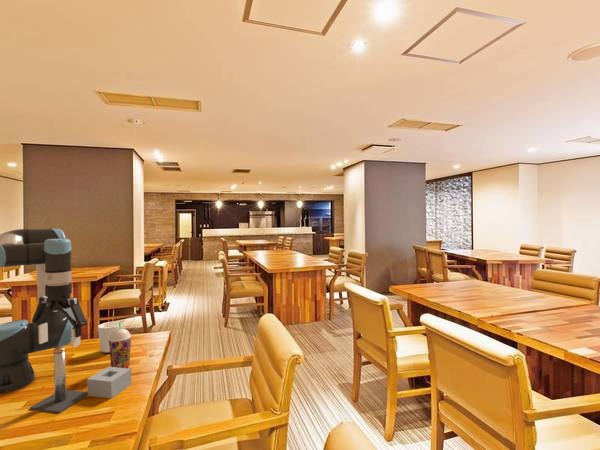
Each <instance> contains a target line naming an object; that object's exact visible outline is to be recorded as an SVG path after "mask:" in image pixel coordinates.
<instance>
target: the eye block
mask: <svg viewBox="0 0 600 450" xmlns="http://www.w3.org/2000/svg"><path fill="white" fill-rule="evenodd" d="M86 381H87V382H86V383H87V384H86V385H87V386H86V387H87V388H86V389H87V391H86V392H87V394H88V396H89V397H95V398H97V397H98V398H106V399H113V398H115V397H116V396H117V395H119V394H120V393H121V392H123V391H124V390H125V389H127V388H129V386H132V368H128V369H127V368H117V367H111V366H107V367H105V368H104V369H102V370H100V371H98V372H97V373H95V374H94V375H92V376H90V377H88V378H87V379H86Z"/></svg>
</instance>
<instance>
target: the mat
mask: <svg viewBox="0 0 600 450" xmlns="http://www.w3.org/2000/svg"><path fill="white" fill-rule="evenodd" d="M87 396H88V394H87V391H81V390H71V389H66V399H65V400H64V401H62V402H55V392H54V393H53V394H51V395H49V396H47V397H45V398H44V399H42V400H40V401H38V402H36V403H35V404H33V405H31V406H29V410H33V411H41V412H46V413H47V412H48V413H55V414H61V413H62V412H64V411H66V410H67V409H68V408H71V406H73V405H75V404H77V403H78V402H80V401H81V400H83V399H84V398H86V397H87Z"/></svg>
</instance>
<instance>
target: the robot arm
mask: <svg viewBox="0 0 600 450" xmlns="http://www.w3.org/2000/svg"><path fill="white" fill-rule="evenodd" d="M72 249H73V247H72V241H71V240H70V239H69V238H66V234H65V233H64V231H63V230H62V229H60V228H51V227H50V228H18V229H13V230H9V231H5V232H3V233H0V269H2V268H7V267H9V268H10V267H18V266H19V267H20V266H32V265H35V268H36V270H35V271H36V286H37V287H36V289H37V302H38V303H37V307H36V310H35V312H34V313H33V317H32V319H31V322H29V321H28V320H27V319H16V320H11V321H8V322H5V323H1V324H0V395H1V394H5V393H9V392H14V391H16V390H19V389H21V388H24V387H26V386H28V385H30V384H31V383H32V382H34V380H35V379H36V378H35V376H36V375H35V373H36V372H35V371H34V369H33V367H32V364H31V362H30V361H29V354H32V353H33V354H34V353H37V352H42V351H46V350H52V349H55V348H58V347H65V346H68V345H70V344H71V348H76V347H78V346H80V345H81V337H82V335H83V334H82V328H83V326H86V325H88V322H87V319H86V317H85V315H84V312H83V310H82V307H81V306H80V305H81V304H80V302H79V301H80V299H79V298H78V297H74V298H71V294H72V293H73V286H72V285H73V284H72V274H73V273H72Z"/></svg>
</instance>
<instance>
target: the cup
mask: <svg viewBox="0 0 600 450" xmlns="http://www.w3.org/2000/svg"><path fill="white" fill-rule="evenodd" d="M119 322H120V321H115V320H114V321H108V322H103V323H101V324H99V325H98V326H97V332H98V340H99V346H100V352H101V353H102V354H103V355H104V354H107V353H108V354H110V347H109V338H110V336H111V334H112V333H113V332H114V331H115V330H117V329H119ZM122 324H123V323H122V322H121V325H122Z"/></svg>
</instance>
